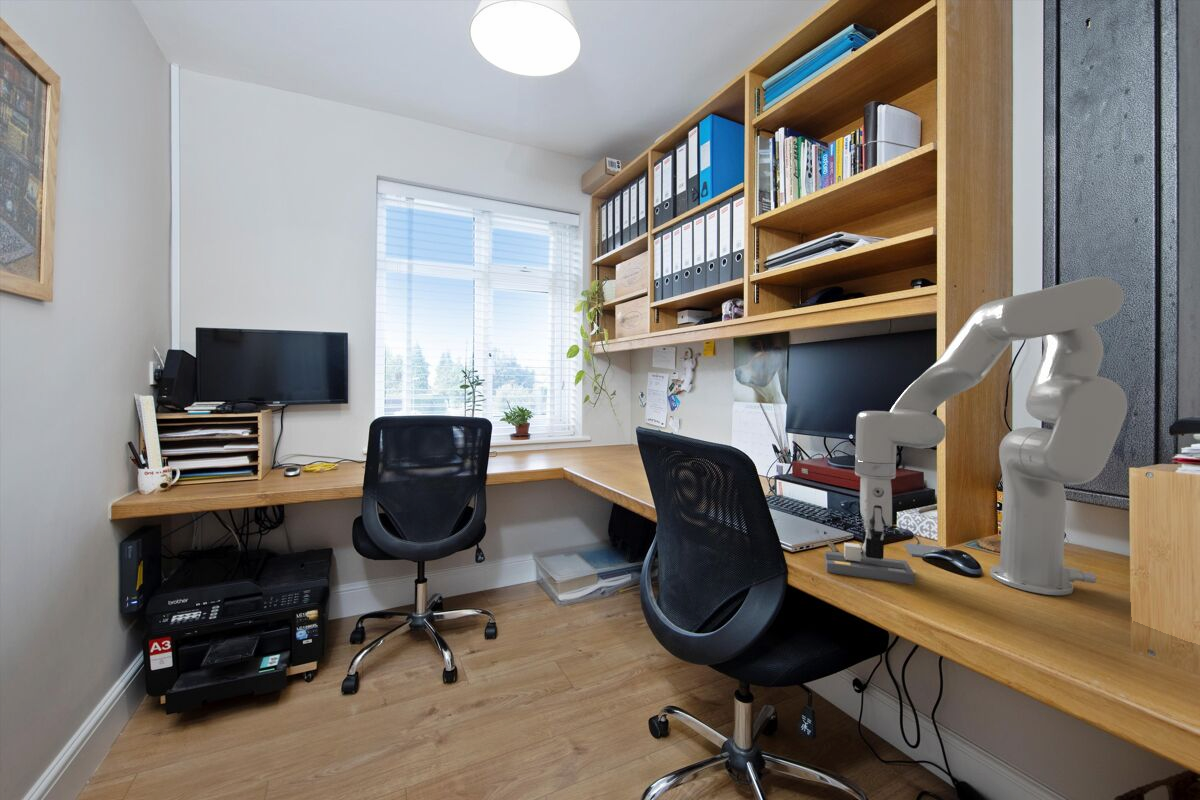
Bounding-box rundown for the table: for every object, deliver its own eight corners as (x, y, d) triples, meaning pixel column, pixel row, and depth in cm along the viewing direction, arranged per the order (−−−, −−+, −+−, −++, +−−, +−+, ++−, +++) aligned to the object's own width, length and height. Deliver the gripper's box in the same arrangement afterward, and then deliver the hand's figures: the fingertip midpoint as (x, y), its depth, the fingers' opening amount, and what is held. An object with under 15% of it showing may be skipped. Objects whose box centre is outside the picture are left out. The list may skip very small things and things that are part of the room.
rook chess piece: (864, 551, 106) (865, 516, 106) (887, 557, 103) (888, 520, 102) (856, 556, 103) (857, 520, 103) (879, 562, 100) (880, 524, 99)
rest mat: (942, 549, 117) (942, 547, 117) (952, 560, 109) (952, 558, 109) (904, 544, 120) (904, 542, 120) (911, 555, 112) (911, 553, 112)
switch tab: (859, 557, 105) (859, 544, 105) (860, 561, 103) (861, 547, 102) (843, 555, 106) (844, 542, 106) (844, 559, 104) (845, 545, 104)
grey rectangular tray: (905, 569, 104) (906, 560, 104) (914, 584, 97) (914, 574, 96) (824, 559, 110) (824, 550, 110) (826, 572, 103) (827, 562, 102)
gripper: (904, 478, 93) (901, 571, 94) (887, 463, 108) (885, 543, 109) (860, 475, 95) (857, 565, 96) (850, 461, 111) (848, 539, 112)
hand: (872, 552), depth 103 cm, fingers closed on rook chess piece, 4 cm apart
